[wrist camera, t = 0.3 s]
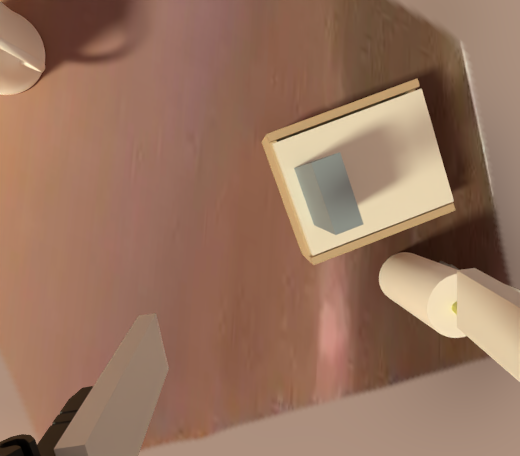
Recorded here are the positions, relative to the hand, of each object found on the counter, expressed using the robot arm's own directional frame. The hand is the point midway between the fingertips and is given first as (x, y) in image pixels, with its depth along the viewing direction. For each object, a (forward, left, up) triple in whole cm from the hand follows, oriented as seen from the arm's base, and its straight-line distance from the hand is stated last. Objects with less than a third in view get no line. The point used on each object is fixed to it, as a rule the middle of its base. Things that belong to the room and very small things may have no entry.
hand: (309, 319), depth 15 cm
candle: (+8, +17, -26) cm, 32 cm away
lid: (-5, +11, -20) cm, 24 cm away
